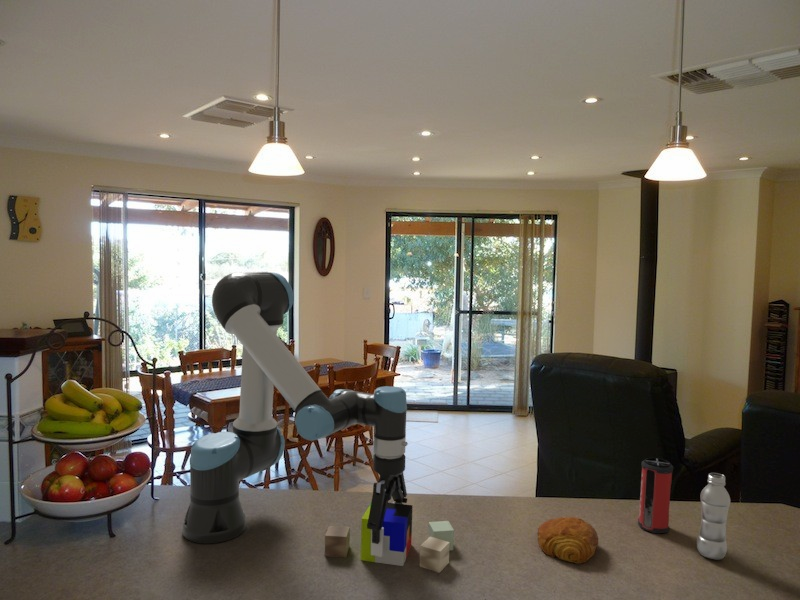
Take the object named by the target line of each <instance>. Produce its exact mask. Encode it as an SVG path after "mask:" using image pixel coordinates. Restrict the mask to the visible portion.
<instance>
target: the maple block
mask: <svg viewBox="0 0 800 600" xmlns="http://www.w3.org/2000/svg"><path fill="white" fill-rule="evenodd" d="M449 545H450V542H447V541H444V540H440V539H437V538H433V537H429V538H428V537H427V539H426V540H424V541H423V542H422V544H420V545H419V567H420V568H422V569H423V568H424V569H426V570H429V571H433V572H436V573H439V574H440V573H441V572H442V571H443V569H445V568H446V567H447V566H448V565H449V563H450V561H449V560H450V550H449Z"/></svg>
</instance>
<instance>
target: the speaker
mask: <svg viewBox="0 0 800 600" xmlns="http://www.w3.org/2000/svg"><path fill="white" fill-rule="evenodd" d="M673 470H674V466H673V465H672V463H671V462H670V461H668V460H667V459H663V458H657V457H647V458H645V459H644V460H642V461H641V479H640V496H639V508H638V509H639V513H638V519H637V525H638V526H639V527H640V528H641V529H642V530H644V531H648V532H650V533H652V534H665V533H668V532H669V531H670V526H669V524H670V523H669V522H670V502H671V500H670V499H671V490H672V489H671V488H672V487H671V485H672V479H673Z"/></svg>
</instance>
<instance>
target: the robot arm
mask: <svg viewBox="0 0 800 600" xmlns="http://www.w3.org/2000/svg"><path fill="white" fill-rule="evenodd" d="M211 295H212V296H211V303H212V310H213V312H214V315H215V318H216V320H217V321H218V322H219V324H220V325H221V326H222V328H223V329H224V331H225V332H226V333H227V334H229V335H233V336H235V337H236V339H237V340H238V341H239V342H240V344H241V345H242V356H241V371H240V372H241V373H240V374H241V376H240V394H239V395H240V397H239V415H238V417H237V418H236V419H234V421H233V422H232V431H218V432H216V433H214V432H212V433H211V432H210V433H207V434H205V435H203V436H201V437H199V438H198V439H196V440H195V441H194V442H193V443H192V445H191V448H190V456H189V457H190V458H189V467H190V468H189V472H190V473H189V475H190V478H189V480H190V481H189V482H190V485H189V487H190V488H189V489H190V490H189V491H190V493H189V494H190V501H189V505H188V508H187V511H186V512H185V513H186V514H185V516H184V520H183V522H182V535H183V537H184V538H185V539H186V540H187V541H189V542H193V543H196V544H197V543H198V544H218V543H222V542H223V543H224V542H226V541H229V540H233V539H234V538H236V537H239V536H240V535H242V533H243V532H244V531H245V530H246V527H247V517H246V515H245V512H244V509H243V508H244V507H243V506H242V502H241V499H240V481H242V480H244V479H247V478H249V477H251V476H253V475H256V474H257V473H260V472H264V471H266V470H269V469H270V468H272V466H275V465H277V463H278V462H279V461H280V460H281V458H282V457H283V455H284V452H285V447H286V445H285V444H286V441H285V437H284V435H283V434H282V430H281V429H280V427H278V421H277V420H276V419H275V418H274V417H273V406H274V404H273V403H274V387H275V388H276V389H277V391H278V392H279V393H280V395H281V396H282V397H283V398H284V400H285V401H286V402H287V404H288V405H289V406H290V407H291V408H292V410H293V411H294V412H295V417H294V425H295V427H296V431H297V433H298V434H299V436H301V438H303V439H304V440H307V441H317V440H320V439H324V438H327V437H329V436H331V435H332V434H334V433H337V432H339V431H341V430H344V429H347V428H349V427H351V426H353V425H363V426H368V427H373V441H372V443H373V445H372V446H373V448H372V451H373V453H374V454H373V456H372V469H373V471H374V472H375V473H377V474H378V475H379V478H378V480H377V482H373V487H372V495H371V496H372V498H371V502H370V504H371V507H370V513H369V519H368V524H367V529H371V555H374V556H379V557H382V556H383V539H384V528H383V527H382V525H383V521H384V517H385V513H386V509H387V505H388V503H389V501H390V500H393V501H392V503H397V504H407V502H408V498H407V496H408V492H407V487H406V481H405V476H404V475H405V474H404V472H405V470H406V455H405V453H406V447H407V446H408V445H409V444H408V443H409V442H408V441H406V439H407V437H406V435H407V433H406V432H407V429H406V428H407V427H406V426H407V411H408V406H407V392H406V391H405V390H404V388H402V387H398V386H388V385H385V386H378V387H377V388H375V390H374V392H373V393H368V392H365V391H364V392H363V391H357V390H353V389H349V388H348V389H341V388H340V389H335V390H334V391H333V392H332V394H331V395H330V396H329V397H328V396H327V395H326V394H325V393H324V392H323V390H322V389H321V388H320V387H319V386H318V384H317V383H316V382H315V380H313V378H312V377H311V376H310V374H309V373H308V372H307V371H306V369H305V368H304V367H303V366H302V365H301V363H300V362H299V360H298V359H297V358H296V357H295V355H293V353H292V352H291V351H290V349H288V347H287V346H286V345H285V344H284V342H283V341H282V340H281V339H280V337H279V336H278V330H279V329H280V328H281V327H282V326H284V316H285V315H286V314H287V313H288V312H289V310H291V308H292V307H293V303H294V291H293V289H292V286H291V283H290V282H289V281H288V279H287V278H286V277H284V276H283V275H281V274H280V273H278V272H269V271H257V272H256V271H253V272H251V271H250V272H249V271H248V272H242V271H241V272H240V271H239V272H232V273H229V274H227V275H224V276H223V277H221V279H219V281H217V283H216V284H215V286H214V288H213V292H212V294H211Z"/></svg>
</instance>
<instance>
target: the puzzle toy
mask: <svg viewBox="0 0 800 600" xmlns="http://www.w3.org/2000/svg"><path fill="white" fill-rule="evenodd" d="M370 507H371V503H370V504H369V506H368V507H367V509H366V511H365V512H364V514H363V515H362V517H361V527H360V528H361V533H360V534H361V535H360V561H364V562H369V563H370V562H372V563H379V564H387V565H394V566H399V567H400V566H401V567H404V565H405V563H406V560H407V558H408V554H409V552H410V549H411V547H412V539H413V538H412V537H413V535H412V530H413V505H412V504H406V503H402V504H397V503H393V502H388V505H387V509H386V513H385V517H384V521H383V525H382V527H383V528H384V539H383V556H382V557H379V556H374V555H371V529H367V524H368V519H369V513H370Z"/></svg>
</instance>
